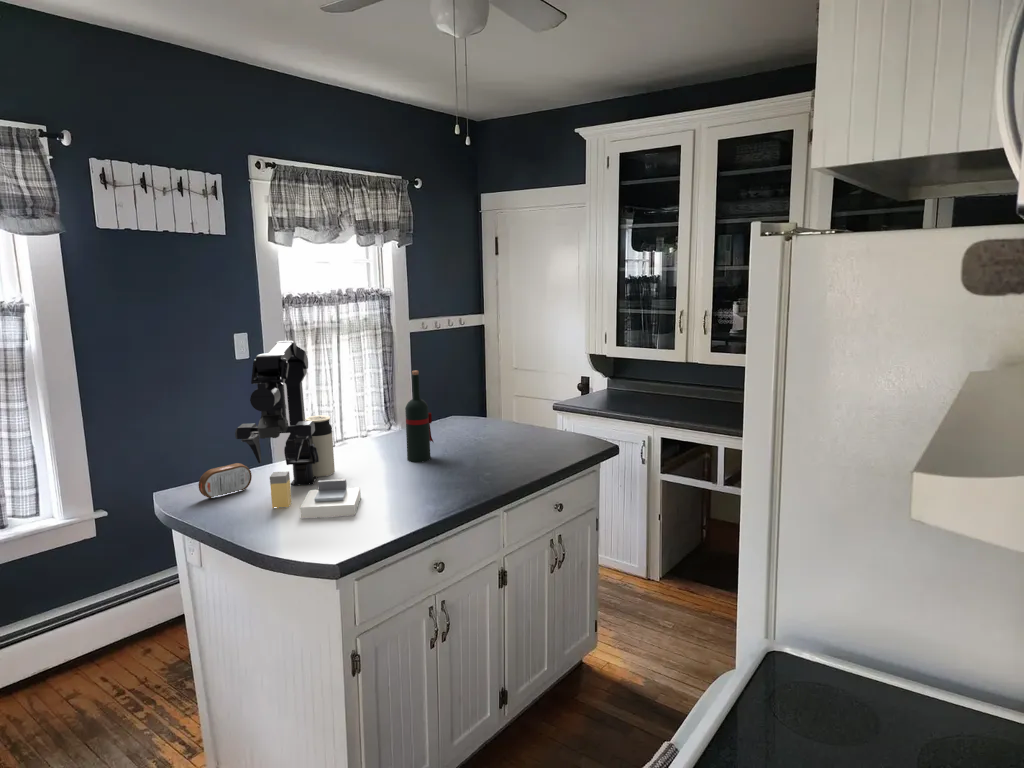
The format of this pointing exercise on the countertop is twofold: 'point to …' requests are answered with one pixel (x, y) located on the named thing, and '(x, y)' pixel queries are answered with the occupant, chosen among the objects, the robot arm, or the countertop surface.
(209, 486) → the tin
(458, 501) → the countertop surface
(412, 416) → the wine bottle
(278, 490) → the plug
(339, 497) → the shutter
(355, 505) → the socket block
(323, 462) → the travel mug
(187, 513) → the countertop surface
